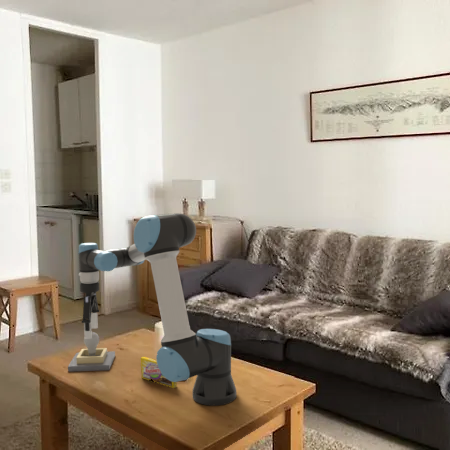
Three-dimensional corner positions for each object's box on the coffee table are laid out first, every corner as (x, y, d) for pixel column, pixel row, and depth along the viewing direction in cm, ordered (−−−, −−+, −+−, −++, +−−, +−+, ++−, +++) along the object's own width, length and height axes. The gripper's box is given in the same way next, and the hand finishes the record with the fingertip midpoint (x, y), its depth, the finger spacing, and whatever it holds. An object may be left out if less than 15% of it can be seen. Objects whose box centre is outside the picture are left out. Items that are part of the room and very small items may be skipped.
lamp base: (109, 370, 206) (109, 358, 205) (68, 371, 205) (67, 360, 204) (115, 355, 222) (114, 345, 221) (76, 357, 221) (76, 346, 220)
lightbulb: (102, 356, 216) (101, 330, 215) (97, 361, 210) (96, 334, 209) (87, 355, 216) (86, 329, 215) (82, 361, 210) (81, 334, 209)
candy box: (140, 378, 197) (140, 357, 196) (144, 377, 199) (144, 355, 198) (173, 388, 188) (172, 366, 187) (177, 386, 189) (176, 364, 188)
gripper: (86, 275, 222) (87, 324, 224) (73, 288, 197) (75, 343, 199) (104, 275, 222) (105, 324, 224) (93, 288, 198) (95, 342, 200)
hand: (91, 333), depth 212 cm, fingers open, 13 cm apart
